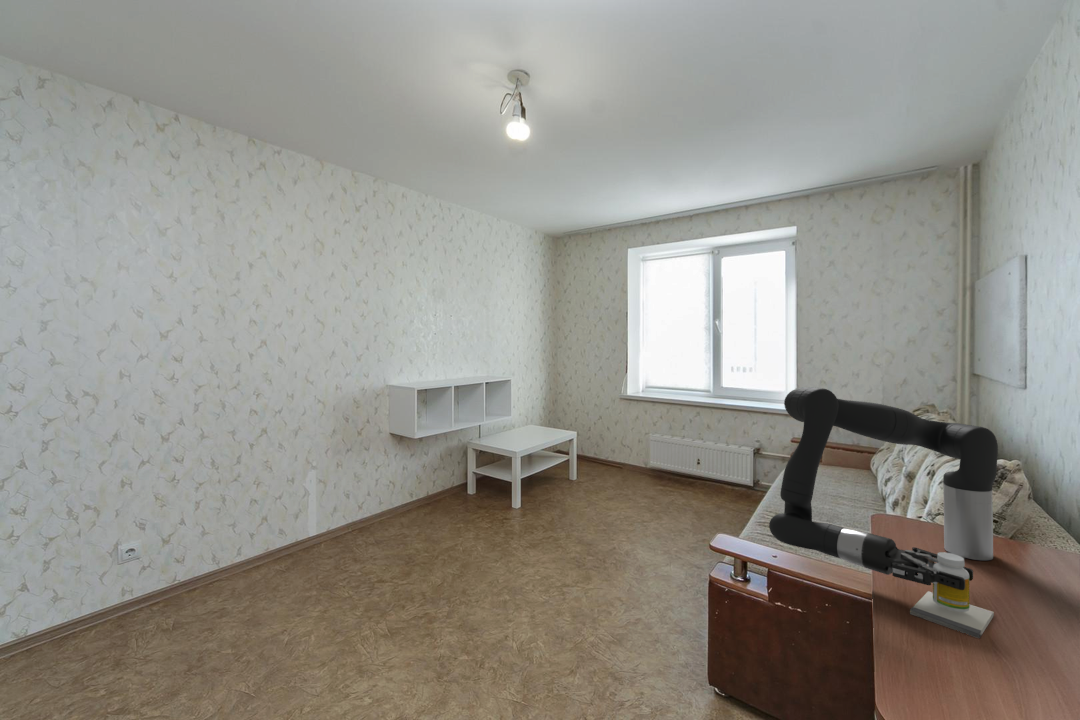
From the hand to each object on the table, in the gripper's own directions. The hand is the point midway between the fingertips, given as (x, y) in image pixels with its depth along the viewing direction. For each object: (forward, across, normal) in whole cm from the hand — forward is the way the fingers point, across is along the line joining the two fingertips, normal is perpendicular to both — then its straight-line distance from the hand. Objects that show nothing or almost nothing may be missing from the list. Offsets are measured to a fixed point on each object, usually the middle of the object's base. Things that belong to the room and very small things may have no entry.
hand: (968, 579), depth 87 cm
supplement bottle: (-3, 0, +6) cm, 7 cm away
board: (-2, 0, +8) cm, 8 cm away
